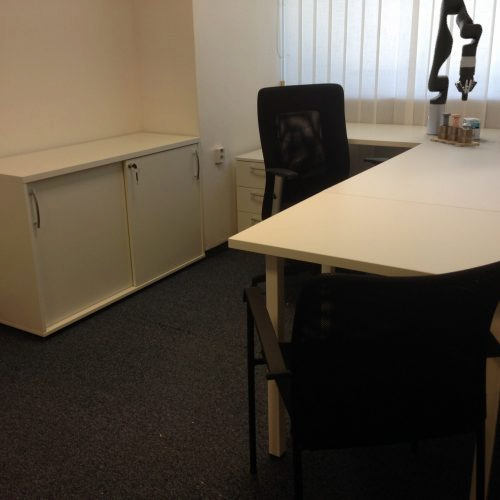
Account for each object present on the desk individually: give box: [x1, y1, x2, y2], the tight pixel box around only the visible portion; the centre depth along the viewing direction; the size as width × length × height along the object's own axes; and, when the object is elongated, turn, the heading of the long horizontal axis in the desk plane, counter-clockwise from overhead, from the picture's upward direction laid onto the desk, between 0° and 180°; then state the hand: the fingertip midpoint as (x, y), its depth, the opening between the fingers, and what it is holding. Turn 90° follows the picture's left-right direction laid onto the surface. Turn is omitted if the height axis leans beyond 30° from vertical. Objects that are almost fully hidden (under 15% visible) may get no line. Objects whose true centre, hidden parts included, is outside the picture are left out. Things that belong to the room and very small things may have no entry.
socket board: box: [429, 125, 481, 148], centre depth 312 cm, size 25×12×8 cm, turn 21°
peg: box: [442, 112, 452, 126], centre depth 317 cm, size 4×4×9 cm
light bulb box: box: [462, 117, 482, 141], centre depth 324 cm, size 11×7×11 cm, turn 179°
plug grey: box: [461, 123, 471, 130], centre depth 304 cm, size 4×4×9 cm
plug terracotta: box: [451, 113, 462, 128], centre depth 310 cm, size 4×4×9 cm
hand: (464, 100), depth 302 cm, fingers closed
